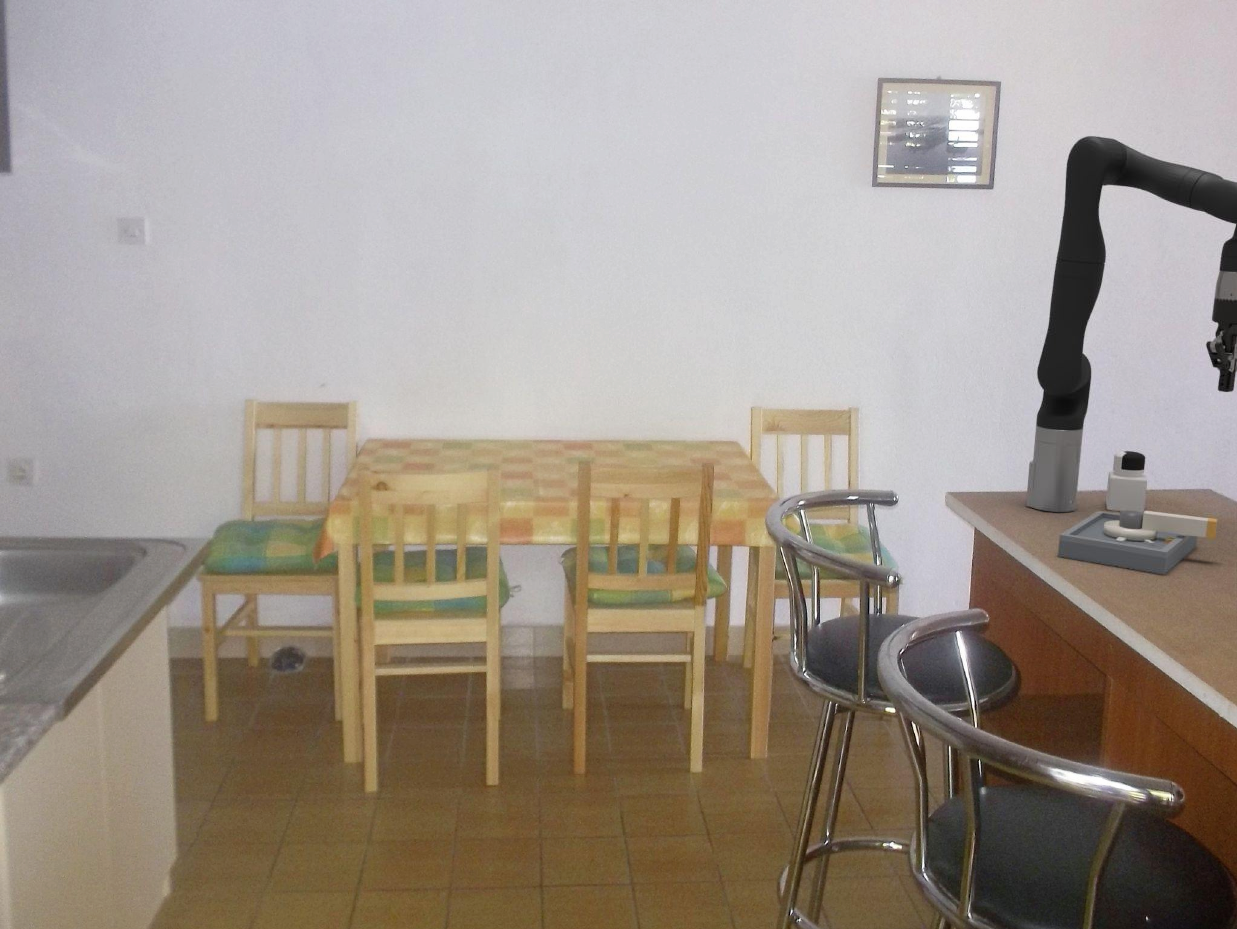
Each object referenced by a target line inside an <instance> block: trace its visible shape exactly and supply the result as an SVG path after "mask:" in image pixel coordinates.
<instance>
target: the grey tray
mask: <svg viewBox="0 0 1237 929" xmlns="http://www.w3.org/2000/svg"><path fill="white" fill-rule="evenodd" d="M1116 520H1120V513H1116V512H1115V513H1114V512H1108V511H1102V510H1098V511H1096V512H1094V513H1092V514H1090V515H1089V516H1088V517H1086V518H1085V519H1082V520H1081V521H1079V522H1078V523H1076V524H1074V525H1073V526H1072V527H1070V528H1068V529H1067V530H1065V531H1064V532H1062V533H1060V534H1059V538H1058V539H1059V540H1058V550H1057V551H1058V552H1057V557H1060V558H1066V559H1072V560H1077V561H1082V560H1083V561H1082V562H1089V563H1094V564H1099V563H1100V564H1099V565H1104V566H1105V565H1106V566H1110V567H1116V566H1118V567H1117V568H1123V569H1127V568H1129V569H1128V570H1133V569H1134V570H1135V571H1138V572H1139V571H1140V572H1144V571H1145V573H1146V572H1147V573H1150V572H1151V574H1156V575H1161V576H1165V575H1166V574H1167V573H1168V572H1170V570H1171V569H1173V568H1174V567H1175V566H1176V565H1177V564H1178V563H1180V561H1181V560H1183V559H1184V558H1185V557H1186V556H1187V555H1188V554H1189V553H1191V552H1192V551H1193V550H1194V549H1195V548H1196V547H1197V540H1198V537H1197V536H1190V535H1182V534H1174V533H1166V532H1158V531H1157V538H1156V539H1154V540H1144V541H1133V540H1126V538H1122V537H1119V538H1115V537H1111V536H1108V535H1106V534H1105V533H1104V523H1105V522H1108V521H1116Z"/></svg>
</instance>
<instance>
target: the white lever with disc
mask: <svg viewBox="0 0 1237 929" xmlns="http://www.w3.org/2000/svg"><path fill="white" fill-rule="evenodd" d="M1119 512H1120V513H1119V514H1120V520H1116V521H1108V522H1105V523H1104V533H1105V534H1106V535H1108V536H1111V537H1115V538H1119V537H1122V538H1126V540H1133V541H1144V540H1154V539H1156V538H1157V531H1158V532H1166V533H1174V534H1182V535H1190V536H1197V538H1198V537H1199V538H1206V539H1209V540H1210V539H1212V540H1215V539H1216V536H1217V535H1216V534H1217V527H1218V526H1217V525H1218V518H1211V517H1209V518H1208V517H1200V516H1192V515H1184V514H1178V513H1177V514H1176V513H1167V512H1160V511H1151V510H1144V512H1143V513H1141V512H1137V511H1119Z"/></svg>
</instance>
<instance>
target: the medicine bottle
mask: <svg viewBox="0 0 1237 929" xmlns="http://www.w3.org/2000/svg"><path fill="white" fill-rule="evenodd" d="M1145 464H1146V456H1145V455H1144V454H1143V453H1141V452H1138V451H1132V450H1120V451H1117V452H1115V453H1114V454H1113V465H1112V470H1110V471H1108V475H1107V476H1108V478H1107V486H1106V487H1107V488H1106V498H1105V504H1106V509H1107V511H1114V512H1115V511H1117V512H1121V511H1137V512H1141V513H1143V514H1144V512H1145V506H1146V495H1147V486H1148V480H1147V479H1148V478H1147V477H1146V474H1145Z"/></svg>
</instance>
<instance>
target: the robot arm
mask: <svg viewBox="0 0 1237 929" xmlns="http://www.w3.org/2000/svg"><path fill="white" fill-rule="evenodd" d="M1064 186H1065V190H1064V191H1065V193H1064V194H1065V195H1064V206H1063V208H1064V209H1063V214H1062V215H1063V216H1062V223H1061V229H1060V236H1059V237H1060V238H1059V244H1058V250H1057V255H1056V262H1055V267H1054V274H1053V282H1052V291H1051V298H1050V308H1049V318H1048V325H1047V326H1048V327H1047V331H1046V335H1045V340H1044V343H1043V346H1042V350H1041V351H1042V352H1041V354H1040V357H1039V361H1038V366H1037V369H1036V370H1037V371H1036V372H1037V373H1036V376H1037V381H1038V383H1039V384H1038V385H1039V386H1040V387H1041V388H1042V390H1043V392H1042V399H1041V404H1040V407H1039V408H1038V409H1039V410H1038V411H1037V414H1036V423H1035V425H1036V426H1035V433H1034V434H1035V435H1034V445H1033V456H1032V457H1033V459H1032V460H1030V462H1029V468H1028V475H1027V476H1028V477H1027V486H1026V487H1027V490H1026V498H1025V499H1026V500H1025V506H1026V507H1030V508H1033V509H1036V510H1039V511H1045V512H1050V513H1051V512H1052V513H1053V512H1054V513H1068V512H1069V513H1070V512H1074V511H1075V510H1076V505H1077V500H1078V499H1077V496H1078V495H1077V494H1078V487H1079V475H1080V465H1081V464H1080V463H1081V454H1082V445H1083V444H1082V443H1083V432H1084V423H1085V419H1086V417H1087V412H1088V407H1089V399H1090V391H1091V381H1092V365H1091V362H1090V360H1089V358H1088V357H1087V355H1085V353H1084V343H1085V337H1086V336H1085V335H1086V330H1087V326H1088V323H1089V320H1090V317H1091V315H1092V313H1093V311H1094V308H1095V306H1096V302H1097V300H1098V297H1099V294H1100V291H1101V288H1102V283H1103V278H1104V273H1105V272H1104V271H1105V263H1106V260H1107V259H1106V258H1107V256H1106V254H1107V252H1106V243H1105V239H1104V235H1103V230H1102V226H1101V222H1100V202H1101V196H1102V190H1103V186H1114V187H1115V186H1117V187H1127V188H1134V189H1137V190H1138V189H1139V190H1141V191H1145V192H1147V193H1150V194H1152V195H1155V196H1156V197H1159V198H1160V199H1162V200H1165V201H1167V202H1170V203H1172V204H1175V205H1178V206H1181V207H1185V208H1188V209H1190V210H1191V209H1192V210H1194V211H1198V212H1204V213H1205V214H1207V215H1210V216H1211V217H1215V218H1216V219H1219V220H1221V221H1225V222H1226V223H1230V224H1235V227H1234V230H1233V234H1232V237H1231V238H1229V239H1228V240H1226V241H1225V242H1224V243H1223V246H1222V249H1221V254H1220V262H1219V271H1218V275H1217V279H1216V283H1215V284H1216V285H1215V290H1214V298H1213V305H1212V306H1213V308H1212V315H1211V320H1212V323H1217V324H1218V325H1217V328H1216V330H1215V335H1214V336H1215V338H1214V339H1213V340H1212V341H1210V340H1207V341H1206V344H1205V348H1206V351H1207V354H1208V356H1209V359H1210V362H1211V364H1212V368H1216V369H1217V370H1218V371H1219V375H1218V376H1219V377H1218V386H1217V390H1218V392H1222V393H1223V392H1224V393H1230V392H1234V390H1235V379H1236V375H1237V374H1236V372H1237V182H1236V181H1233V180H1229V179H1224V178H1223V177H1222V176H1221V175H1218V174H1216V173H1213V172H1209V171H1206V170H1202V169H1198V168H1195V167H1192V166H1188V165H1187V166H1186V165H1183V164H1178V163H1174V162H1171V161H1170V162H1169V161H1166V160H1165V161H1164V160H1161V159H1158V158H1156V157H1155V158H1154V157H1153V156H1152V157H1151V156H1149V155H1146V154H1145V153H1142V152H1141V151H1138V150H1136V149H1134V148H1132V147H1130V146H1129V145H1126V144H1124V143H1123V142H1120V141H1119V140H1117V139H1114V138H1109V137H1103V136H1102V137H1101V136H1097V135H1096V136H1092V135H1089V136H1084V137H1081V138H1079V140H1077V141H1076V142H1075V143H1074V145H1073V146H1072V147H1071V149H1070V151H1069V154H1068V157H1067V160H1066V172H1065V185H1064Z"/></svg>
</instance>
